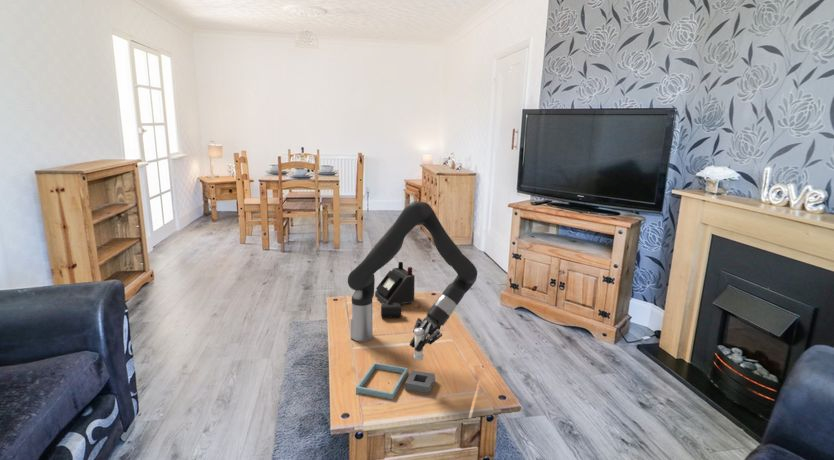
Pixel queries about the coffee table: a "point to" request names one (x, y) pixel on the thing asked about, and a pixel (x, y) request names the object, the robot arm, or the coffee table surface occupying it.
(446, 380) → the coffee table surface
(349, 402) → the coffee table surface
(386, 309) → the black rectangular block
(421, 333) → the white light bulb
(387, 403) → the coffee table surface
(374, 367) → the parts tray
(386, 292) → the voltmeter
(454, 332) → the coffee table surface
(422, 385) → the socket block
